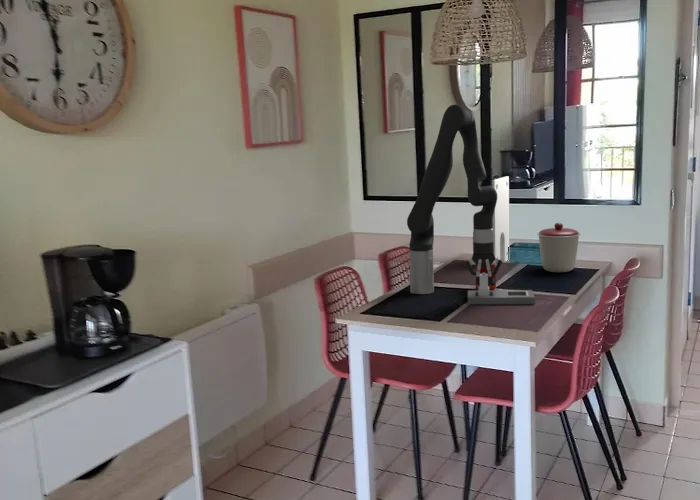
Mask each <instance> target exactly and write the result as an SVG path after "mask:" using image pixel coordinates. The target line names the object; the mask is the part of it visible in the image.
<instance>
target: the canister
mask: <svg viewBox="0 0 700 500" xmlns="http://www.w3.org/2000/svg"><path fill="white" fill-rule="evenodd" d="M536 234H537V237H538V243H539V250H540V251H539V252H540V258H541V260H540V261H541V264H542V268H543V269H544V270H545V271H547V272H551V273H568V272H571V271H573V270H574V268H575V266H576V260H577V254H578V248H579V247H578V245H579V236H581V232H579V231H578V230H577V229H573V228H567V227H564V225H563V223H562V222H556V223H555V224H554V226H553V228H552V227H551V228H545V229H541V230H540V231H539V232H537V233H536Z"/></svg>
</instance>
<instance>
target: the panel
mask: <svg viewBox="0 0 700 500" xmlns="http://www.w3.org/2000/svg"><path fill="white" fill-rule="evenodd" d="M533 291H534V290H532V289H520V290H519V289H516V290H515V289H512V290H511V289H509V290H508V289H507V290H505V289H500V290H499V289H496V290H495V289H494V290H489V296H478V289H476V290H475V289H473V290H467V305H535V304H536V296H535V293H534V292H533Z"/></svg>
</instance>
